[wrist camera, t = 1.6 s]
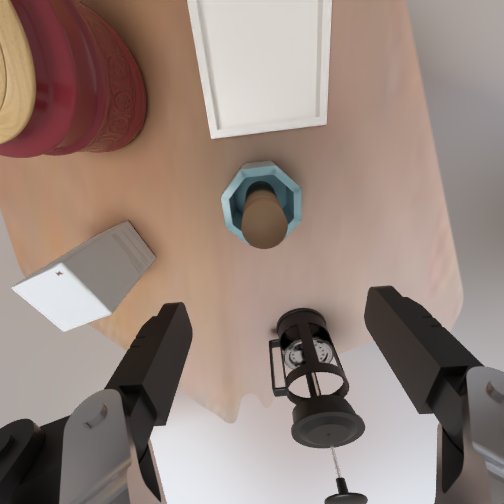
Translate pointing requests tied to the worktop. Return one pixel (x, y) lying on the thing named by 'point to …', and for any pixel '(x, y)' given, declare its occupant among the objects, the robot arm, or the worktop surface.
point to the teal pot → (268, 173)
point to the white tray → (262, 63)
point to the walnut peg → (263, 217)
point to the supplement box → (88, 278)
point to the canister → (65, 81)
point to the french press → (317, 392)
